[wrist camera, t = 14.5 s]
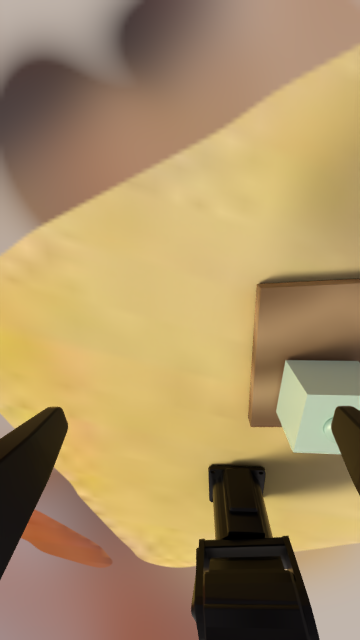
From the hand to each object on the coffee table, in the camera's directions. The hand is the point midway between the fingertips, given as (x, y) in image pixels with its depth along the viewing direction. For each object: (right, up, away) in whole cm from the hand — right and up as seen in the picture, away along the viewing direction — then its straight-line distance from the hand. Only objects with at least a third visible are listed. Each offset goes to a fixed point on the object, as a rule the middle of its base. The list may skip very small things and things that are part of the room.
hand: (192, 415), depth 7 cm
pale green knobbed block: (+11, -3, +12) cm, 17 cm away
